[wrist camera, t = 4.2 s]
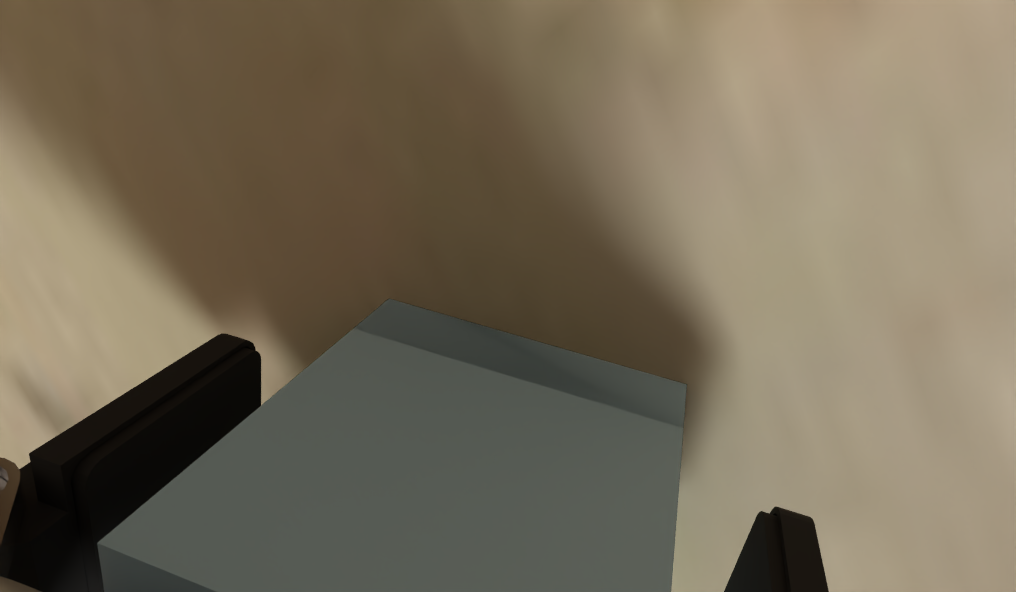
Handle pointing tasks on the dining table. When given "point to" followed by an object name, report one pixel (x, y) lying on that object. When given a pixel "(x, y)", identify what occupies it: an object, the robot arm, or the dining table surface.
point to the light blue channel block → (425, 475)
